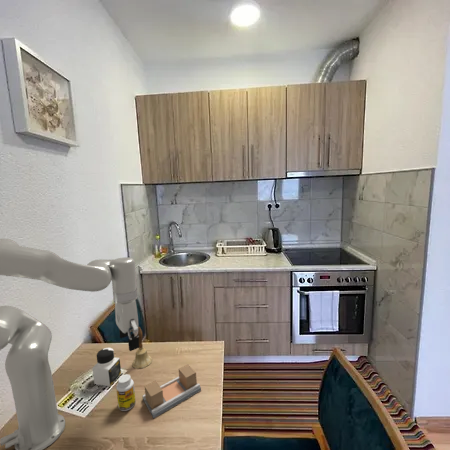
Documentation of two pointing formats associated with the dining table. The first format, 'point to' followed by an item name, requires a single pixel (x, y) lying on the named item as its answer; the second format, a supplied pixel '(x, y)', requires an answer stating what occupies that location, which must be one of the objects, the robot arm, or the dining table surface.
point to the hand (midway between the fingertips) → (129, 342)
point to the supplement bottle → (125, 393)
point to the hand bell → (141, 354)
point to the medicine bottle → (106, 367)
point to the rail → (171, 391)
